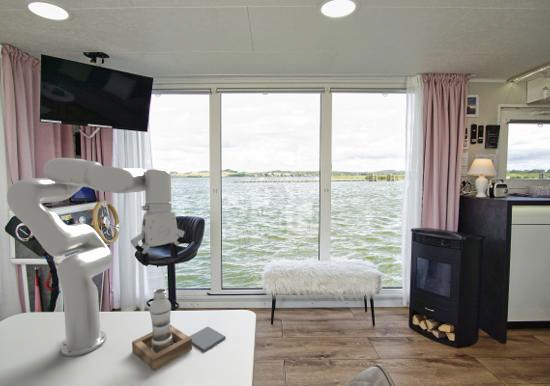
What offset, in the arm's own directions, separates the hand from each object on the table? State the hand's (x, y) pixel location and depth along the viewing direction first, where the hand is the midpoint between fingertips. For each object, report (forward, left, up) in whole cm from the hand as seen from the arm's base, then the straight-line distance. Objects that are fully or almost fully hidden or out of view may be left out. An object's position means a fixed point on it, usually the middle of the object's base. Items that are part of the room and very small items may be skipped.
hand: (160, 261), depth 87 cm
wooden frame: (0, 0, -30) cm, 30 cm away
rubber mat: (+6, +12, -30) cm, 33 cm away
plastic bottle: (0, 0, -30) cm, 30 cm away
